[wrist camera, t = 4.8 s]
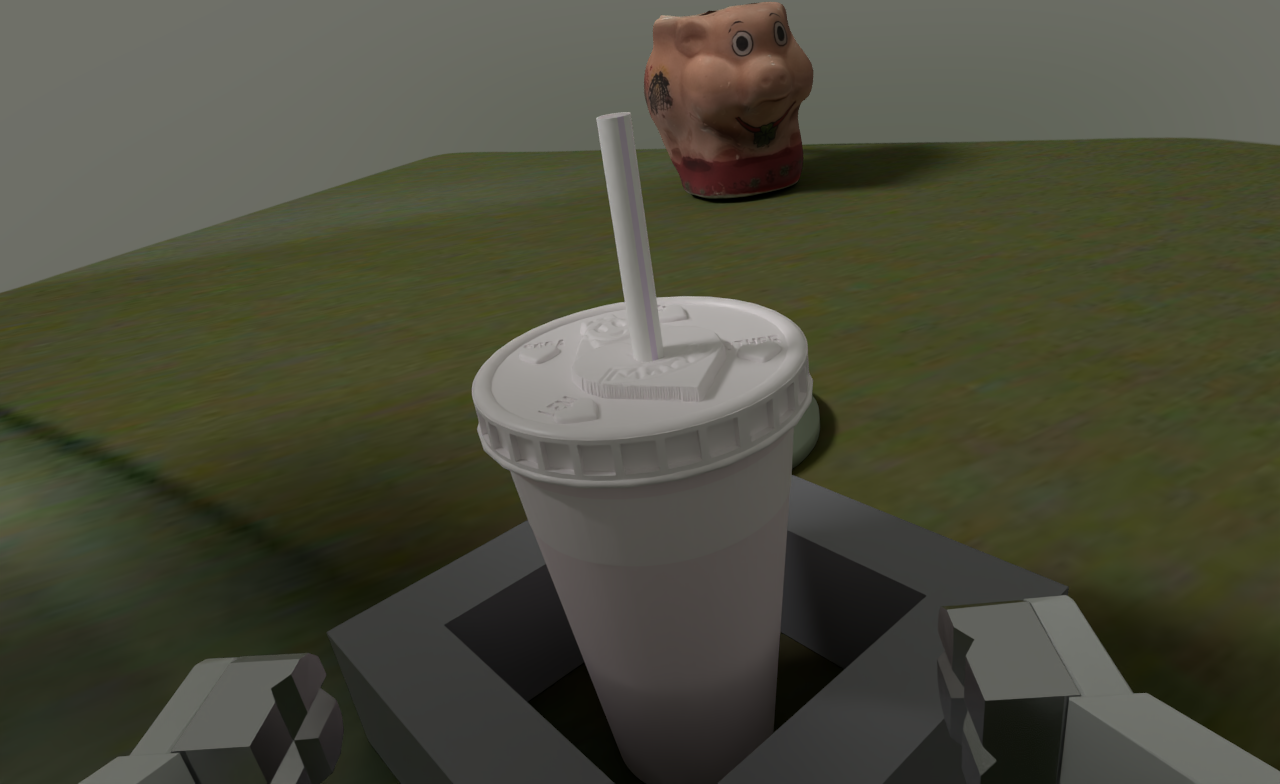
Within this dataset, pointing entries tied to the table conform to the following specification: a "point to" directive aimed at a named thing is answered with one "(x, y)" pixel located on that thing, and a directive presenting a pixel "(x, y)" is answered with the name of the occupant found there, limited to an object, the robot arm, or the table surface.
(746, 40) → the cartoon character mug
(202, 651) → the table surface
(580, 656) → the socket collar
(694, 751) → the smoothie
